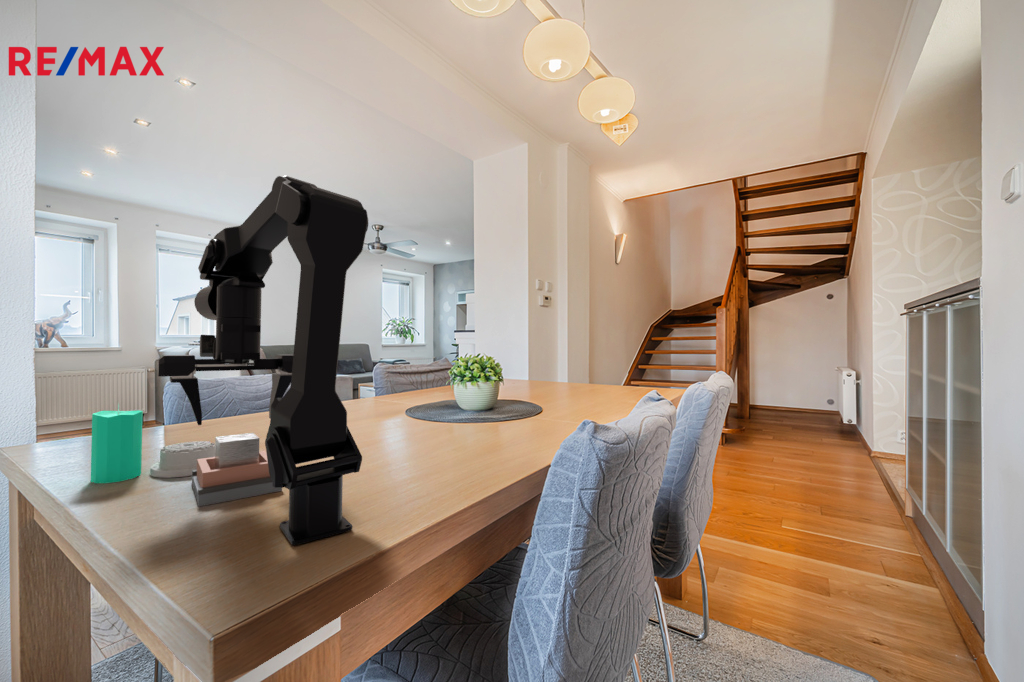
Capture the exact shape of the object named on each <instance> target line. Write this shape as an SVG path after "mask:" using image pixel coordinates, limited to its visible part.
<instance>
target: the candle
mask: <svg viewBox="0 0 1024 682" xmlns="http://www.w3.org/2000/svg"><path fill="white" fill-rule="evenodd" d="M143 414H144V411H143V410H140V409H139V410H120V402H117V410H101V411H97V412H94V413H92V414H91V415H92V416H91V445H90V446H91V451H90V453H91V454H90V455H91V456H90V458H91V459H90V461H91V462H90V483H93V482H94V483H93V484H111V483H119V482H124V481H127V480H128V479H129V480H133V479H135V478H138V477H140V476H141V475H142V462H143V461H142V460H143V459H142V458H143V457H142V456H143V454H142V452H143V421H144V420H143V416H144V415H143ZM137 476H138V477H137ZM129 480H128V481H129Z"/></svg>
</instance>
